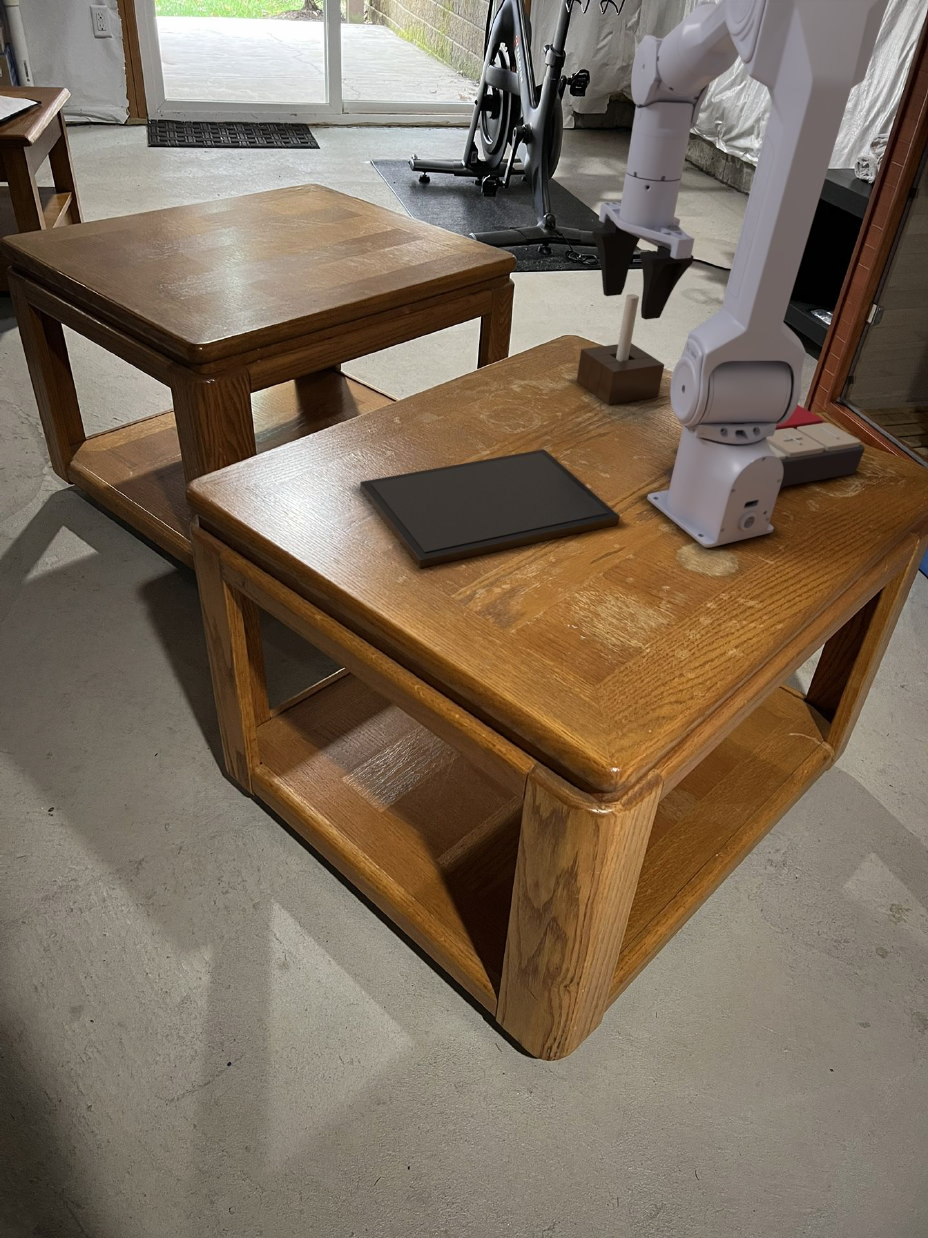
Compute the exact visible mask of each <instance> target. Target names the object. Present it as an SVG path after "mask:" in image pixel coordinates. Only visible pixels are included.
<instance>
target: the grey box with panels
mask: <svg viewBox="0 0 928 1238" xmlns="http://www.w3.org/2000/svg"><path fill="white" fill-rule="evenodd" d="M767 442H768V444H769V446H770V448H771V450H772V451H773V452H774V454H775V455H776V456H777V457H778V458H779V459H780V460H781V462H782V464H783V471H784V473H783V479H782V482H781V486H780V489H779V491H780V490H781V489H782V488H784V487H788V486H793V485H797V484H805V483H809V482H815V481H820V480H825V479H831V478H838V477H843V476H848V475H853V474H856V473H857V470H858V467H859V465H860V462H861V460H862V458H863V455H864V452H865V450H866V449H865V445H862V444H861V440H860V439H859V438H857V437H855V436H853V435H852V434H850V433H848V432H846V431H844V430H842V429H841V428H839V427H837V426H836V425H834V424H832V423H829V422H824V419H823V418H822V417H821V416H818V415H816V414H815V413H813V412H811V411H809V410H808V409H806V408H804V407H803V406H802V405H799V404H798V405H797V407H796V409H795V411H794V412H793V414H792V415H791V417H790V418H789V419H788V420H787V421H786V422H785V423H783V424H779V425H776V429H775V432H774V435H773V436H768V437H767Z"/></svg>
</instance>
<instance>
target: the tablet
mask: <svg viewBox="0 0 928 1238" xmlns="http://www.w3.org/2000/svg"><path fill="white" fill-rule="evenodd" d="M359 488H360V489H359V490H360V492H361V493H362V494H363V496H364V497H365V498H366V499H367V501H368V502H369V504H370V505H371V506H372V507H373V509H374V510H375V511H376V513H377V514H378V515H379V516H380V518H381V519H382V521H383V522H384V523H385V524H386V526H387V527H388V528H389V530H390V531H391V532H392V534H393V535H394V536H395V537H396V540H397V541H399V543H400V544H401V545H402V547H403V548H404V550H405V551H406V552H407V553H408V555H409V556H410V557H411V559H412V560H413V561H414V563H415V564H416V565H417V566H418V568H419V569H424V568H427V567H433V566H436V565H442V564H446V563H451V562H455V561H459V560H463V559H464V560H465V559H468V558H473V557H479V556H481V555H486V554H490V553H496V552H500V551H505V550H510V549H514V548H518V547H523V546H528V545H533V544H537V543H541V542H546V541H550V540H554V539H559V538H563V537H567V536H572V535H577V534H581V533H586V532H591V531H596V530H599V529H604V528H608V527H613V526H617V525H619V522H620V518H621V517H620V515H619V514H618V513H617V512H615V510H613V509H612V508H611V507H610V506H609V505H608V504H606V503H605V502H604V501H603V500H602V499H601V498H599V497H598V496H597V494H595V492H593V491H592V490H591V489H590V488H589V487H587V486H586V485H585V484H584V483H583V482H582V481H581V480H580V479H578V478H577V477H576V476H575V475H574V474H573V473H572V472H571V471H569V470H568V468H566V467H565V466H564V465H563V464H562V463H560V462H559V460H557V459H556V458H555V457H553V455H551V454H550V452H548V451H547V450H545V448H544V449H537V450H532V451H526V452H521V453H515V454H510V455H503V456H498V457H492V458H487V459H481V460H476V461H470V462H464V463H459V464H452V465H448V466H442V467H437V468H430V469H425V470H419V471H413V472H408V473H402V474H397V475H391V476H385V477H378V478H375V479H369V480H362V481H360V482H359Z"/></svg>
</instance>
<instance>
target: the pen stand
mask: <svg viewBox="0 0 928 1238" xmlns="http://www.w3.org/2000/svg"><path fill="white" fill-rule="evenodd" d="M617 349H618V343H616V344H609V345H608V344H607V345H601V346H594V347H593V346H592V347H587V348H581V349H580V356H579V361H578V369H577V376H576V382H577V383H578V384H579V385H581V386H582V387H584V388H585V389H586V390H588V391H589V392H590V393H591V394H593V395H594V396H596V397H597V398H599V399H600V400H601V401H603V402H604V403H605V404H607V405H608V406H609V405H617V404H623V403H628V402H635V401H641V400H647V399H653V398H658V397H659V395H660V389H661V385H662V379H663V374H664V369H665V364H664V363H663V362H662V361H660V360H659V359H657V358H656V357H654V356H653V355H651V354H649V353H648V352H646V351H644V350H643V349H642V348H640V347H638V346H637V345H635V344H634V343H632V342H631V346H630V352H629V357H628V360H627V361H618V360H617V359H616V355H617Z"/></svg>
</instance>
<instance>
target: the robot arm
mask: <svg viewBox="0 0 928 1238" xmlns="http://www.w3.org/2000/svg"><path fill="white" fill-rule="evenodd" d="M888 3H889V0H719V2H718V3H717V2H716V1H711V0H710V1H709V0H700V1H698V2H697V4H696V5H694V9H693V10H692V11H691V12H690V13H689V14H688V15H687V16H686V17H685V18H684V19H682V21H680V22H679V23H678V24H677V25H676V26H675V27H674V28H673V29H672V30H670V32H669V33H667V35H666V36H665V37H663V38H661V37H656V36H655V35H650V34H646V35H644V36H643V38H642V40H641V41H640V42H639V44H638V46H637V49H636V51H635V55H634V58H633V63H632V69H631V78H630V84H631V85H630V89H631V97H632V101H633V103H634V104H635V110H634V116H633V122H632V129H631V130H632V131H631V138H630V142H629V143H630V144H629V150H628V156H627V162H626V168H625V169H626V170H625V175H624V182H623V187H622V195H621V201H620V202H617V201H605V202H600V210H599V218H598V221H599V222H601V223H603V225H602V227H595V228H593V229H592V233H591V236H592V238H593V240H594V243H595V245H596V249H597V252H598V256H599V257H598V258H599V263H600V271H601V279H602V280H601V281H602V292H603V295H604V296H605V297H614V296H622V294H623V292H624V290H625V289H624V288H625V286H626V282H627V277H628V273H629V269H630V265H631V261H632V259H633V255H634V253H635V250H636V248H637V246H638V244H639V242H640V240H642V241H644V242H647V243H649V244H650V245H653V246H655V247H656V248H657V249H656V250H649V251H640V253H639V258H640V259H639V260H640V263H641V268H642V280H643V281H642V285H643V286H642V295H641V305H640V316H641V318H642V319H643V320H653V319H660V318H661V316H662V313H663V311H664V309H665V307H666V304H667V302H668V300H669V298H670V296H671V294H672V292H673V291H674V289H675V287H676V285H677V283H678V282H679V281H680V279H681V278H682V276H683V275H684V274H685V272H686V271H688V269H689V268H690V267H691V265H692V264H693V262H694V258H695V256H694V255H693V254H692V253H693V250H694V249H693V248H694V243H695V238H694V237H692V236H690V235H689V234H687V232H686V231H684V230H683V229H682V228H681V227H680V223H681V219H680V218H678V217H676V216H675V213H676V208H677V203H678V198H679V193H680V192H679V191H680V187H681V183H682V182H681V181H682V177H683V172H684V171H683V170H684V166H685V161H686V160H685V159H686V155H687V150H688V143H689V140H690V133H691V129H694V128H695V127H696V124H697V123H698V120H699V115H700V111H701V107H702V105H703V103H704V101H705V100H706V96H707V94H708V91H709V89H710V84H711V83H712V82H714V81H715V80H716V79H718V78H719V77H720V76H722V75H723V74H725V73H726V72H727V71H728V70H730V69H731V68H732V67H733V66H734V64H735V63H736V61H737V60H738V57H739V58H740V60H741V61H742V64H743V66H744V68H745V70H746V73H747V75H748V77H750V78H751V79H753V80H755V81H756V82H758V83H760V84H761V85H763V86H765V87H766V88H767V92H768V94H769V97H770V101H771V105H770V110H769V114H768V117H767V122H766V126H765V130H764V134H763V139H762V143H761V147H760V150H759V155H758V159H757V162H756V166H755V171H754V175H753V177H752V183H751V186H750V191H749V194H748V199H747V203H746V207H745V211H744V215H743V219H742V224H741V227H740V232H739V236H738V239H737V244H736V247H735V252H734V256H733V259H732V263H731V268H730V271H729V276H728V279H727V284H726V288H725V292H724V296H723V299H722V303H721V308H720V310H718V311H717V312H716V313H715V314H714V315H711V316H710V317H709V318H707V319H706V320H705V321H702V323H700V324H699V325H697V326H696V327H694V329H692V330H691V331H689V333H688V335H687V339H686V341H685V344H684V347H683V350H682V353H681V355H680V358H679V359H678V361H677V362H676V365H675V366H674V369H673V371H672V375H671V379H670V388H669V389H670V391H669V395H670V396H669V397H670V405H671V408H672V412H673V414H674V416H675V418H676V419H677V421H678V422H679V423H680V424H681V425H682V430H681V434H680V439H679V444H678V448H677V452H676V456H675V461H674V466H673V469H672V470H673V471H672V475H671V479H670V484H669V489H665V490H661V491H656V492H652V493H649V494H647V497H646V499H647V501H648V502H649V503H651V504H652V505H653V506H654V507H656V508H657V509H658V510H659V511H661V512H662V513H663V514H664V515H665V516H667V517H668V518H669V519H670V520H671V521H672V522H673V523H675V524H676V525H677V526H679V528H681V529H682V530H683V531H684V532H686V533H687V534H688V535H689V536H691V537H692V538H693V539H694V540H695V541H696V542H698V543H699V544H700V545H701V546H703V548H713V547H718V546H722V545H725V544H729V543H730V544H731V543H734V542H738V541H743V540H746V539H750V538H755V537H758V536H763V535H767V534H771V533H773V532H774V529H775V528H774V525H772V524H771V523H770V522H771V518H772V515H773V512H774V509H775V505H776V502H777V499H778V495H779V492H780V490H781V489H780V486H781V482H782V479H783V473H784V471H783V464H782V462H781V460H780V459H779V458H778V457H777V456H776V455H775V454H774V452H773V451H772V450H771V448H770V446H769V444H768V442H767V437H768V436H773V435H774V432H775V429H776V425H779V424H783V423H785V422H786V421H787V420H788V419H789V418H790V417H791V415H792V414H793V412H794V411H795V409H796V407H797V405H799V401H800V399H801V393H802V375H803V374H802V373H803V367H804V362H805V359H806V355H807V351H806V349H805V347H804V345H803V343H802V341H801V339H800V338H799V337H798V336H797V334H796V333H795V332H794V331H793V330H792V329H791V328H790V327H789V326H788V325H787V324H786V323H785V322H784V321H785V318H786V317H785V316H786V314H787V310H788V306H789V303H790V299H791V296H792V293H793V289H794V286H795V282H796V280H797V279H796V278H797V276H798V272H799V269H800V267H801V262H802V259H803V255H804V252H805V248H806V246H807V242H808V239H809V235H810V232H811V228H812V224H813V221H814V218H815V214H816V211H817V207H818V204H819V200H820V197H821V194H822V190H823V188H824V187H823V186H824V183H825V180H826V177H827V173H828V170H829V166H830V163H831V159H832V156H833V153H834V150H835V145H836V142H837V139H838V137H839V136H838V135H839V132H840V128H841V126H842V123H843V118H844V114H845V111H846V109H847V104H848V101H849V98H850V95H851V90H852V89H853V88H855V87H856V86H858V85H859V84H861V83H862V82H864V80H865V78H866V75H867V72H868V69H869V65H870V62H871V59H872V57H873V53H874V50H875V46H876V42H877V40H878V36H879V33H880V30H881V27H882V23H883V20H884V16H885V13H886V9H887V8H888V7H887V6H888ZM779 489H780V490H779Z"/></svg>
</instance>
